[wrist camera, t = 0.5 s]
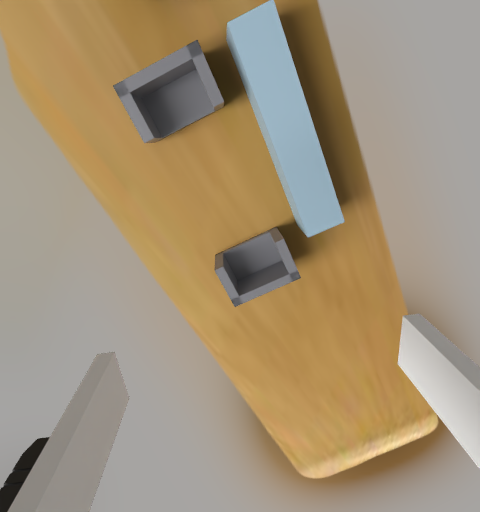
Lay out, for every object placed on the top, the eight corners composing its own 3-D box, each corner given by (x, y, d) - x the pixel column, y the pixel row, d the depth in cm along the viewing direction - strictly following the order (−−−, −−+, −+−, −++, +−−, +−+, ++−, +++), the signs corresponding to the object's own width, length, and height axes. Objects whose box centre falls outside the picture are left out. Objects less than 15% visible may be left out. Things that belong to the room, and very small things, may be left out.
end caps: (128, 93, 30) (112, 85, 26) (200, 54, 29) (197, 39, 25) (233, 288, 38) (234, 306, 34) (291, 261, 37) (300, 277, 33)
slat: (226, 41, 29) (227, 22, 24) (264, 21, 29) (273, -2, 24) (297, 224, 36) (308, 237, 31) (328, 211, 36) (344, 221, 31)
